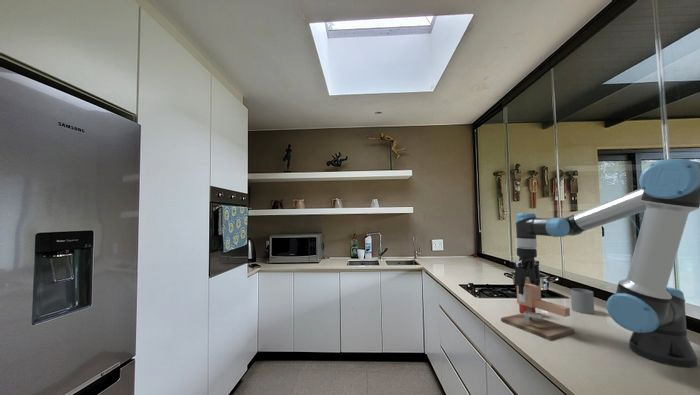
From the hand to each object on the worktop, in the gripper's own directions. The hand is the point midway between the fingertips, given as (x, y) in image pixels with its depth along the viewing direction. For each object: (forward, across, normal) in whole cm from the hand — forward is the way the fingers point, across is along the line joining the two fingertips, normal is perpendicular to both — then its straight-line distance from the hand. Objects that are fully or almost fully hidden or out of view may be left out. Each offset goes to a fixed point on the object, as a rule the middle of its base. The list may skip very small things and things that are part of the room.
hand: (528, 300), depth 120 cm
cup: (+10, -39, +1) cm, 40 cm away
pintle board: (+9, +2, +4) cm, 11 cm away
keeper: (+9, +6, +6) cm, 13 cm away
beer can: (+10, -11, -8) cm, 17 cm away
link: (+2, 0, +6) cm, 6 cm away
